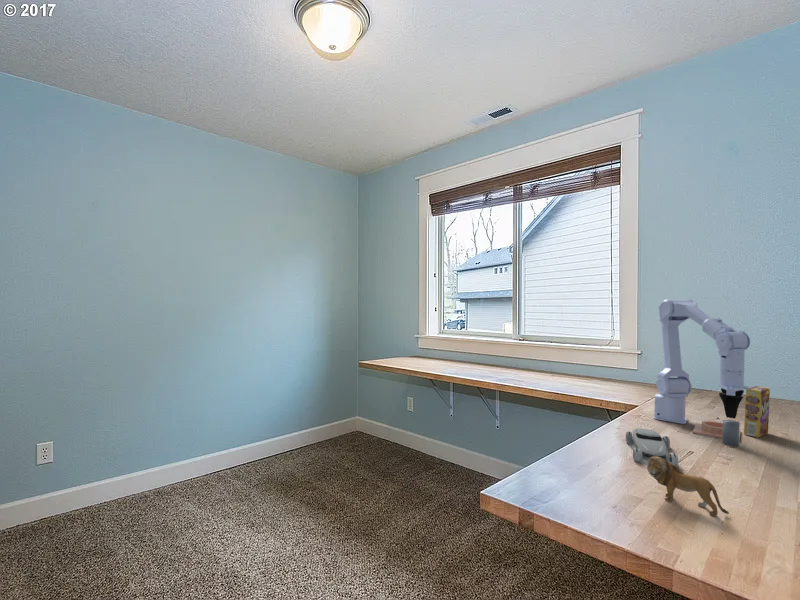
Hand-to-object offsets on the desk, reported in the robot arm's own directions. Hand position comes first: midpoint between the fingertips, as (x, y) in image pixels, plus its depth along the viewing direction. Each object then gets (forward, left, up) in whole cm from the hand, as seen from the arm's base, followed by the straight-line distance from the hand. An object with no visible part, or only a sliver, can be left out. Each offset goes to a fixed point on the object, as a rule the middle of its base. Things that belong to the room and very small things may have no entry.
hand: (731, 415), depth 127 cm
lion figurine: (-7, -54, -9) cm, 55 cm away
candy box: (+6, +18, -9) cm, 21 cm away
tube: (0, 0, -9) cm, 9 cm away
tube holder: (-4, +11, -9) cm, 15 cm away
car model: (-18, -23, -10) cm, 31 cm away
